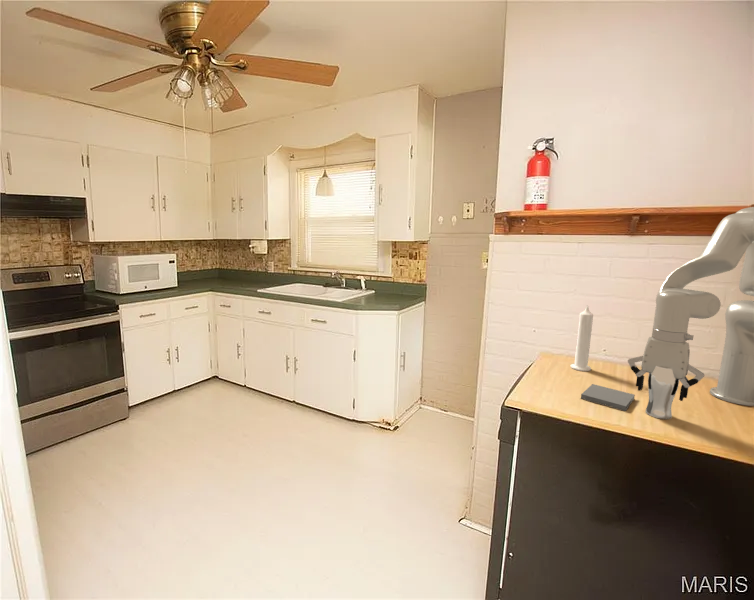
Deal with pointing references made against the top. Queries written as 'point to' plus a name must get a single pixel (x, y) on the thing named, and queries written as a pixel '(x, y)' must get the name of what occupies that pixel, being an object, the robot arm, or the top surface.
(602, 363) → the top surface
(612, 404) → the slate coaster
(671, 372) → the beer glass
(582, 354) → the candle
